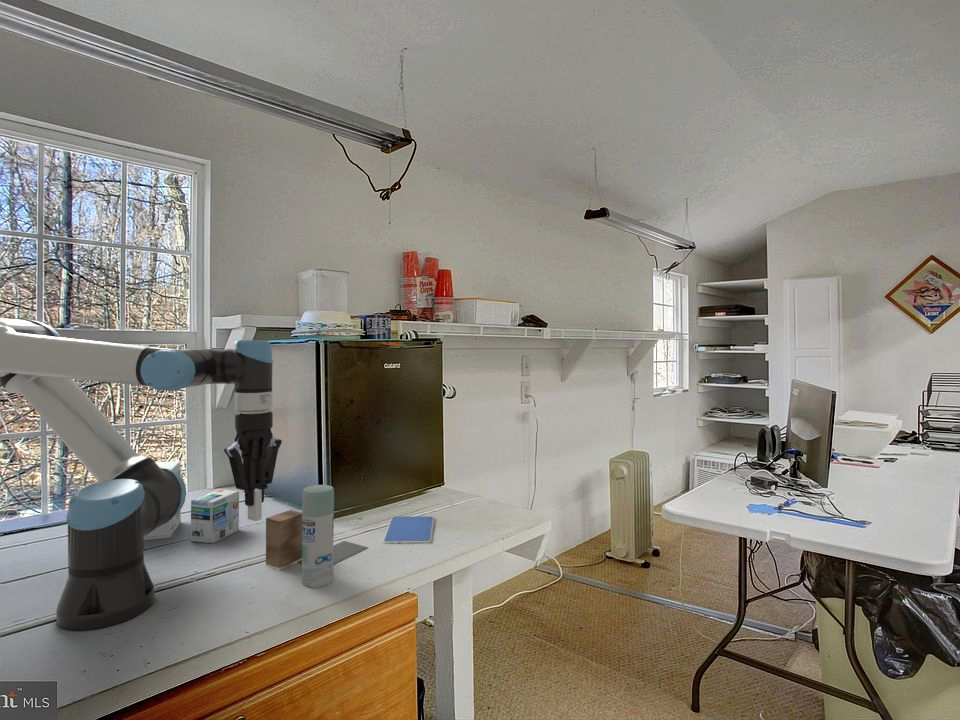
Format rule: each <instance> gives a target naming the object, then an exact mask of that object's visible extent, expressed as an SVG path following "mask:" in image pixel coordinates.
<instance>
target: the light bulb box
mask: <svg viewBox="0 0 960 720" xmlns="http://www.w3.org/2000/svg"><path fill="white" fill-rule="evenodd" d="M239 524H240V491H238V490H228V489H227V490H226V489H216V490H214V491H211V492H209V493H206V494H203V495H201V496H199V497H196V498H193V499H191V500H190V541H191V542H195V543H196V542H197V543H204V544H205V543H206V544H214V543H215V542H218V541H220V540H222V539H224V538H226V537H227V536H230V535H231V534H233V533H236V532H238V531H239V530H240V528H239V527H240V525H239Z"/></svg>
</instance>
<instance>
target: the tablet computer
mask: <svg viewBox="0 0 960 720" xmlns="http://www.w3.org/2000/svg"><path fill="white" fill-rule="evenodd" d="M434 525H435V517H434V516H392V517H391V519H390V520H389V523H388V526H387V528H386V532H385V534H384V536H383V540H382V544H384V545H424V544H423V543H430V544H431V543H432V540H433V530H434ZM419 543H421V544H419Z"/></svg>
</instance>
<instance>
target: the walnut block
mask: <svg viewBox="0 0 960 720" xmlns="http://www.w3.org/2000/svg"><path fill="white" fill-rule="evenodd" d="M300 560H302V512H300V511H296V510H293V509H289V510H286V511H283V512H280V513H277V514H274V515H271V516H269V517H266V518H265V566H266V567H269V568H271V569H272V568H273V569H275V570H278V571H280V570H283V569H284V568H288V567H289V566H292V565H293V564H296V563H299V562H298V561H300Z"/></svg>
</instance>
